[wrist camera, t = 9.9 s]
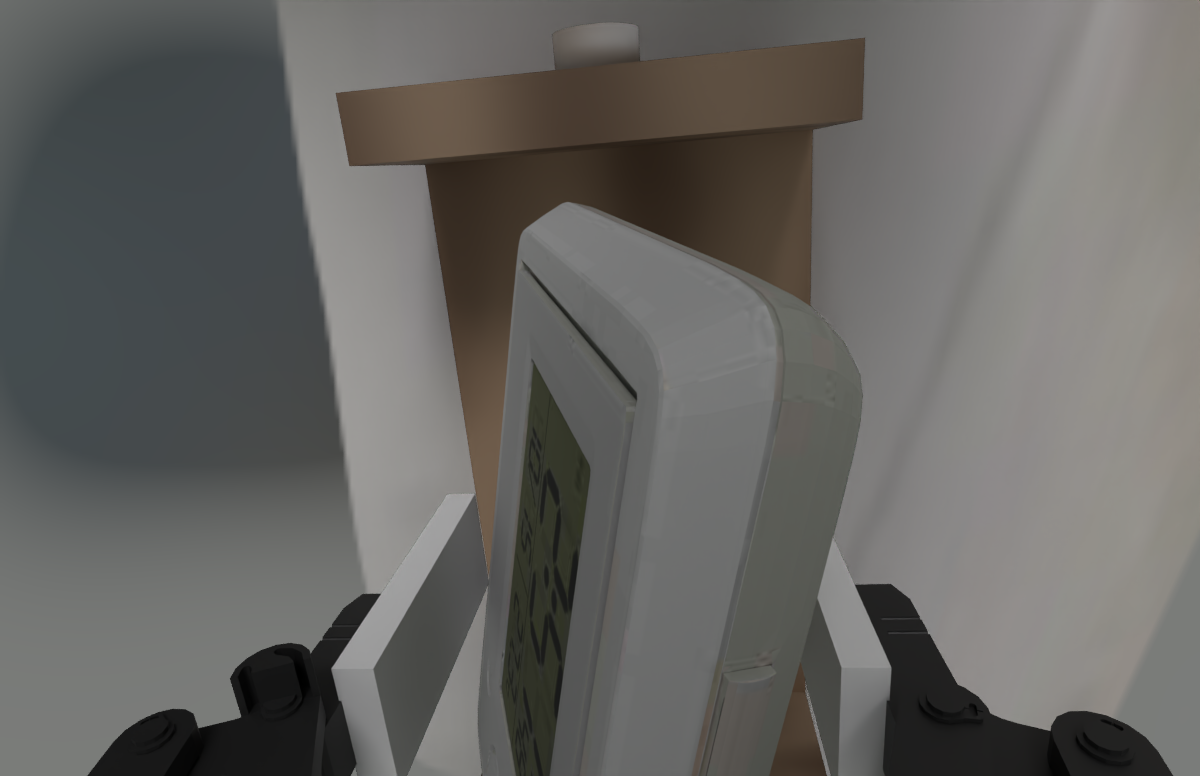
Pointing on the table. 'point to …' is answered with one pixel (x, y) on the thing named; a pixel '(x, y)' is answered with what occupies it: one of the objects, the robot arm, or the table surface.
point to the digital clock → (655, 506)
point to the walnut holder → (612, 191)
